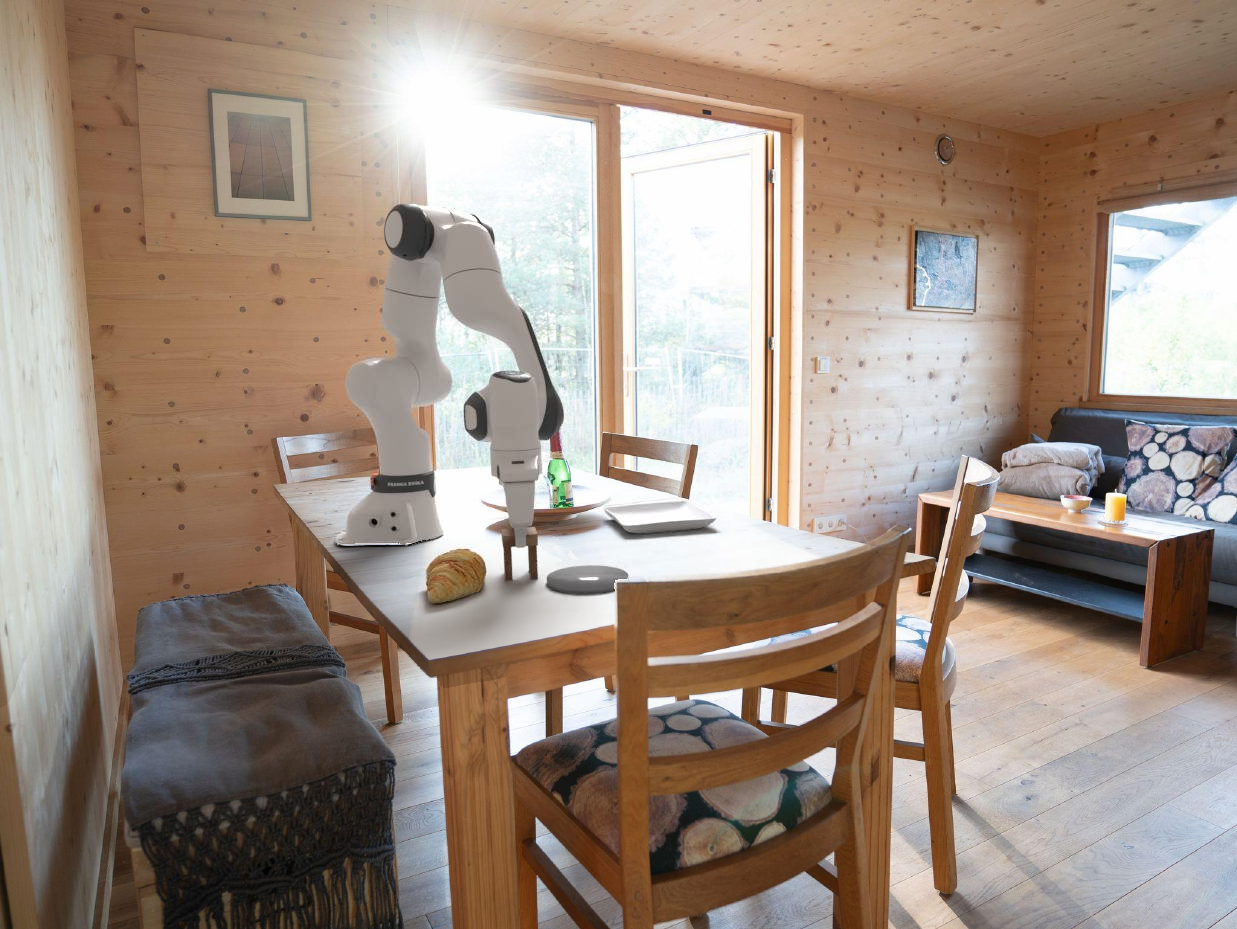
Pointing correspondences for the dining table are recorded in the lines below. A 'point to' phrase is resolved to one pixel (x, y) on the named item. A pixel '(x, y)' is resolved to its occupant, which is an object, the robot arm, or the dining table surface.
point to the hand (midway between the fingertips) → (519, 541)
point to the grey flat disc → (585, 579)
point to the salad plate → (660, 517)
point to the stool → (509, 542)
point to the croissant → (454, 575)
